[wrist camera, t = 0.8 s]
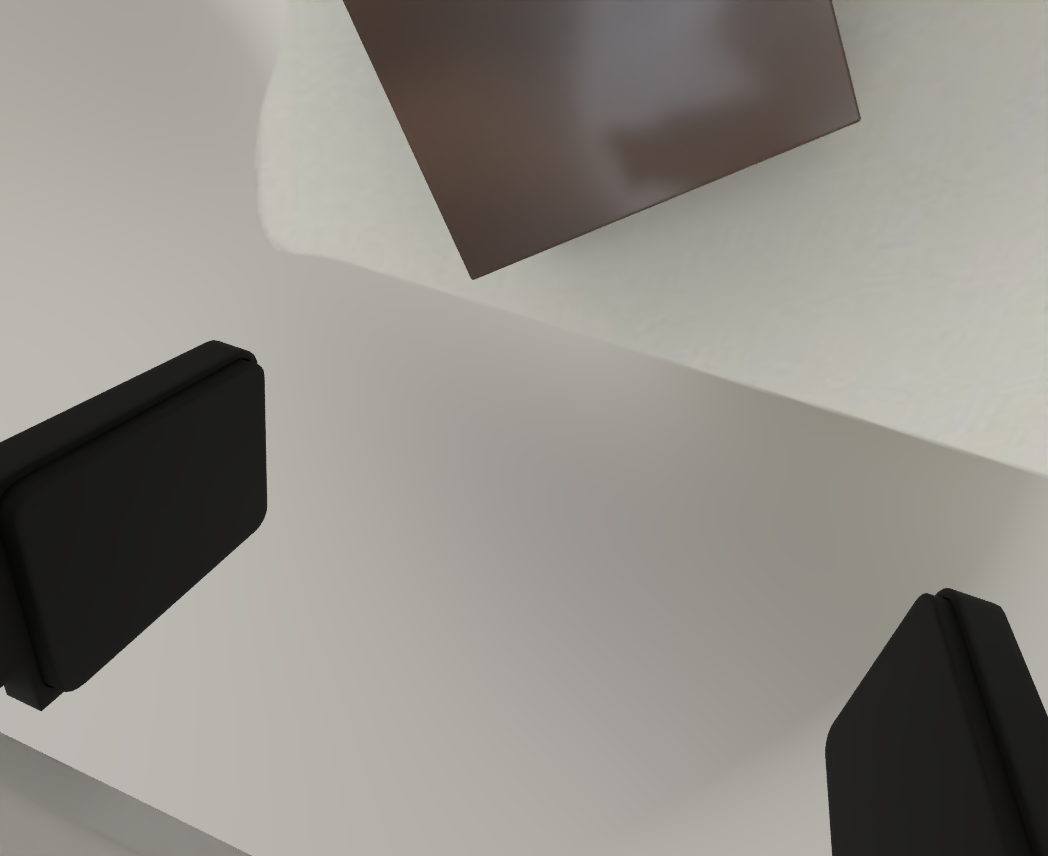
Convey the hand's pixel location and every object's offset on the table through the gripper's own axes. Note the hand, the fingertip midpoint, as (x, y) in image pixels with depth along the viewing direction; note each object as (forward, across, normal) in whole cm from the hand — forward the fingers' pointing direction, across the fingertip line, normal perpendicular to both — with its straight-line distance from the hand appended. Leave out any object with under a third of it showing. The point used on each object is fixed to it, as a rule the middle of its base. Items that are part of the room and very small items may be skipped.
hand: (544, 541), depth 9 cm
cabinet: (+26, +6, -7) cm, 28 cm away
